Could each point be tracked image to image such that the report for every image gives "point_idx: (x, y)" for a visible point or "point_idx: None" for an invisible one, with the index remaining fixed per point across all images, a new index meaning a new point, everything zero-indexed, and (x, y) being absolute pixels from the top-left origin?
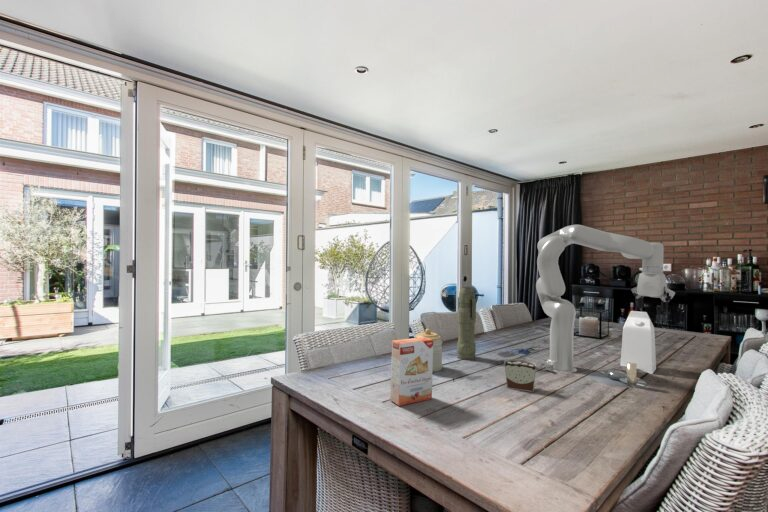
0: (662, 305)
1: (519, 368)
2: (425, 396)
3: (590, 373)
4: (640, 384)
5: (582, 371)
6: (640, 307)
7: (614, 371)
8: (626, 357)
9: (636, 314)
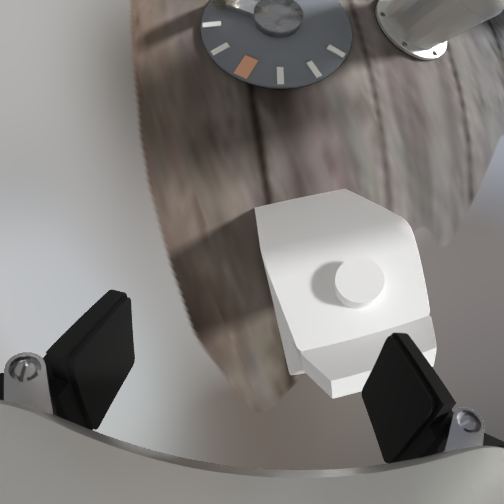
0: (79, 322)
1: None
2: None
3: (347, 21)
4: (212, 25)
5: (384, 54)
6: (382, 355)
7: (286, 14)
8: (339, 197)
9: None
